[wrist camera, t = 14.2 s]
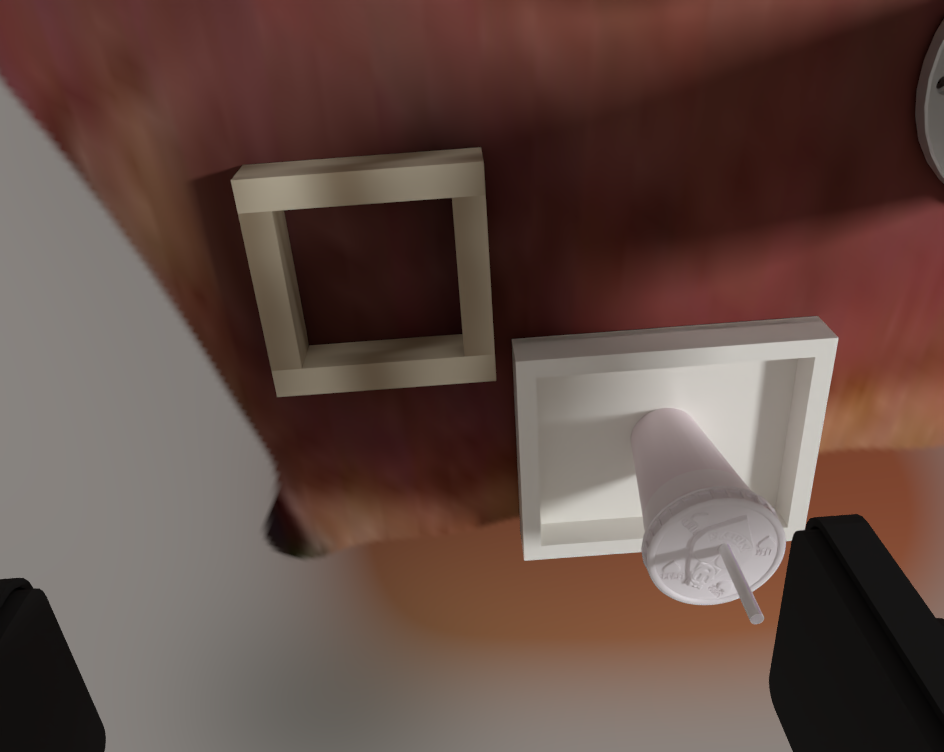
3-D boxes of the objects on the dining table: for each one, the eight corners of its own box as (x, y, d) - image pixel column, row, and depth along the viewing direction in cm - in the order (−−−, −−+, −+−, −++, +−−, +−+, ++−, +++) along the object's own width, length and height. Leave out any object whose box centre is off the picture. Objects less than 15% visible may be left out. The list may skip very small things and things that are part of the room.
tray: (818, 316, 42) (838, 337, 40) (786, 512, 49) (802, 539, 47) (511, 338, 42) (515, 361, 40) (520, 531, 49) (524, 560, 47)
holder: (481, 147, 37) (483, 161, 35) (493, 357, 43) (496, 380, 41) (242, 165, 37) (230, 180, 35) (285, 372, 43) (277, 397, 41)
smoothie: (744, 410, 44) (861, 596, 32) (682, 497, 47) (769, 698, 35) (643, 369, 43) (726, 548, 31) (585, 461, 46) (640, 659, 33)
